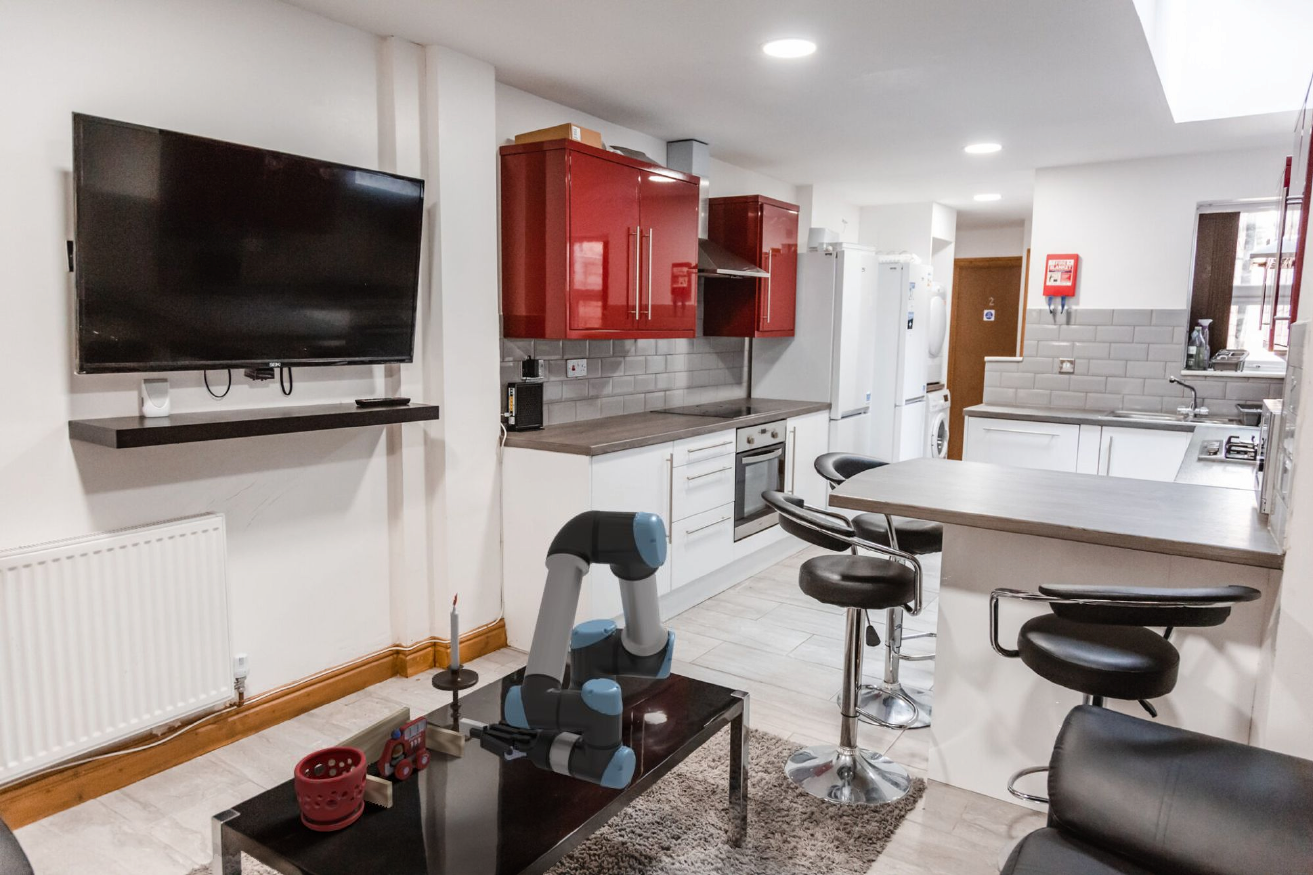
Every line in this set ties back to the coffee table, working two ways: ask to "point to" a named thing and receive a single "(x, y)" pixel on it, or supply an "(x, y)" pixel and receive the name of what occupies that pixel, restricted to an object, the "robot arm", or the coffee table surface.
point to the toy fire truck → (405, 750)
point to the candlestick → (455, 674)
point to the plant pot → (331, 788)
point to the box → (380, 732)
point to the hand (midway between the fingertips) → (461, 725)
